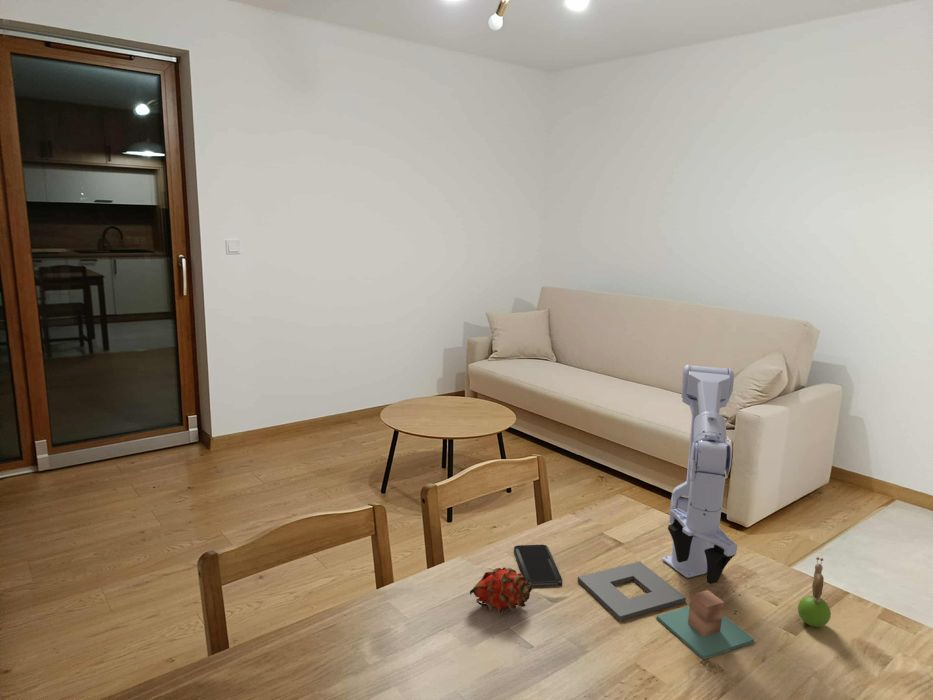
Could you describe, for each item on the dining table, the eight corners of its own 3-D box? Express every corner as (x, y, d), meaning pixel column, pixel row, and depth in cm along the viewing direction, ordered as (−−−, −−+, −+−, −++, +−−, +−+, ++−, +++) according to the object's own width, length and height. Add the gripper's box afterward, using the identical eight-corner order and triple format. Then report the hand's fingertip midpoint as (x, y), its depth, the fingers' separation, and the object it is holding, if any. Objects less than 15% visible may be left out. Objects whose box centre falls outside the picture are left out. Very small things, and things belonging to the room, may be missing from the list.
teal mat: (704, 604, 124) (704, 601, 124) (754, 642, 113) (754, 639, 113) (656, 618, 119) (656, 615, 119) (703, 659, 108) (703, 656, 108)
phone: (526, 584, 128) (513, 545, 142) (526, 589, 128) (513, 549, 142) (564, 582, 128) (547, 544, 143) (563, 587, 129) (547, 548, 143)
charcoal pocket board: (639, 565, 137) (639, 561, 136) (685, 601, 124) (686, 597, 124) (577, 581, 130) (577, 576, 130) (619, 621, 118) (620, 616, 118)
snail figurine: (826, 616, 121) (836, 560, 118) (829, 636, 115) (839, 578, 112) (795, 608, 123) (803, 553, 120) (796, 627, 117) (805, 570, 115)
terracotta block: (704, 618, 118) (707, 589, 117) (720, 631, 115) (724, 602, 113) (687, 623, 117) (691, 594, 115) (703, 636, 113) (707, 607, 112)
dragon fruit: (535, 617, 121) (474, 624, 121) (529, 574, 126) (470, 580, 127) (535, 602, 114) (470, 609, 115) (528, 557, 120) (466, 564, 120)
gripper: (660, 491, 119) (653, 555, 122) (719, 526, 106) (710, 597, 109) (688, 485, 122) (681, 548, 125) (749, 519, 109) (739, 588, 112)
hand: (696, 571), depth 117 cm, fingers open, 7 cm apart
